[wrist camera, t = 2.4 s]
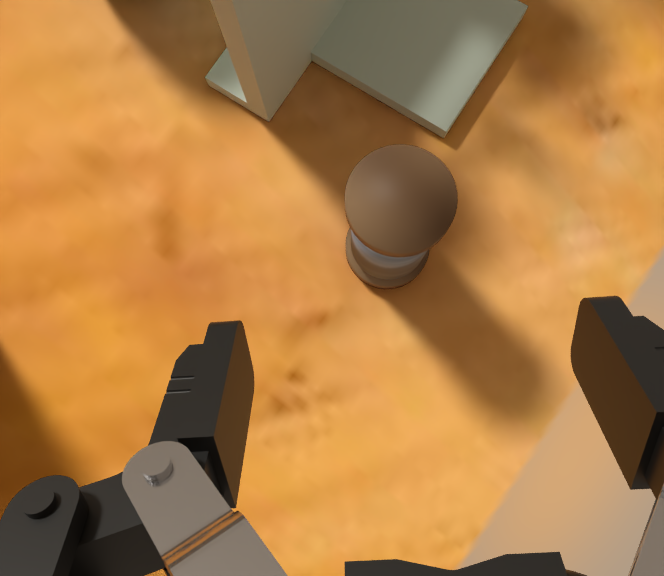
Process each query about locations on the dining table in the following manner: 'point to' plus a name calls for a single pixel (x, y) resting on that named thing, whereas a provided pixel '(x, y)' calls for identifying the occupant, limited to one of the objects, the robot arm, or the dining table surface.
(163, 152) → the dining table surface
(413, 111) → the slide bolt latch
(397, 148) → the ball
